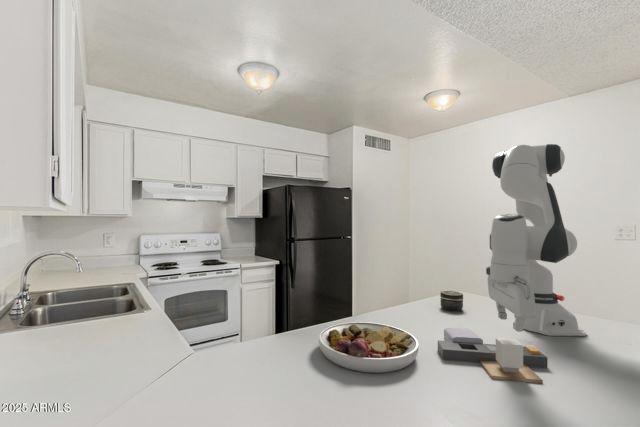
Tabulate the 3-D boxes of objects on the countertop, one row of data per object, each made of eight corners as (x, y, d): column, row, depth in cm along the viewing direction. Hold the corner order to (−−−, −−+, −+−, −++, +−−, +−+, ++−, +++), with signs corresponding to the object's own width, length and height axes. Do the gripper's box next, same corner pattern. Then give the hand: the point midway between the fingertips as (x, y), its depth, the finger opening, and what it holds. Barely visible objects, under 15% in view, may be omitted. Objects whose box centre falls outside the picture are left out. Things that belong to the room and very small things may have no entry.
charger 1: (464, 336, 112) (483, 353, 97) (438, 334, 112) (452, 352, 97) (464, 322, 112) (483, 338, 97) (438, 321, 113) (452, 336, 98)
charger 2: (515, 366, 86) (515, 339, 86) (523, 374, 81) (523, 345, 82) (495, 365, 87) (495, 337, 87) (502, 372, 82) (502, 344, 82)
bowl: (334, 331, 114) (335, 310, 115) (420, 343, 104) (420, 319, 105) (303, 366, 86) (304, 338, 86) (416, 387, 76) (416, 355, 76)
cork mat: (525, 367, 87) (525, 364, 87) (542, 383, 78) (542, 380, 79) (479, 363, 89) (479, 360, 89) (491, 378, 80) (491, 375, 80)
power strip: (534, 357, 94) (534, 344, 94) (547, 368, 87) (547, 354, 87) (437, 349, 98) (437, 337, 98) (442, 359, 91) (442, 346, 91)
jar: (443, 305, 153) (443, 289, 154) (465, 308, 148) (465, 292, 148) (437, 309, 145) (437, 293, 145) (460, 313, 139) (460, 296, 140)
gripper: (543, 281, 74) (543, 339, 74) (505, 267, 94) (506, 313, 94) (514, 281, 75) (515, 338, 75) (483, 267, 95) (484, 312, 95)
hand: (509, 324), depth 85 cm, fingers open, 8 cm apart
